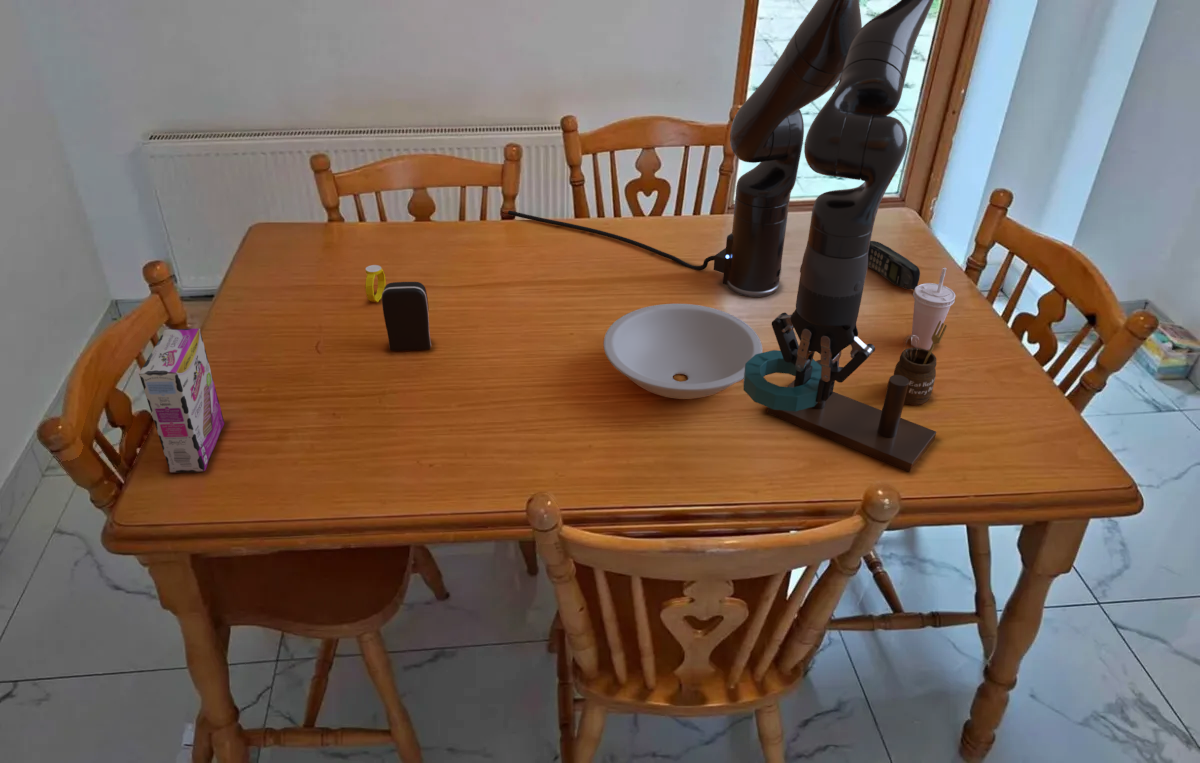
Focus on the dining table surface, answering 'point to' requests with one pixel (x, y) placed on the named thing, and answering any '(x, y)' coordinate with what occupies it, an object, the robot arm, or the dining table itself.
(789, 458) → the dining table surface
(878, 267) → the mobile phone
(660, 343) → the vessel sink basin
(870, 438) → the rack
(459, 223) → the dining table surface
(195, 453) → the candy bar box
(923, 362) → the utensil holder
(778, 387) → the teal faceted ring
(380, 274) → the watch
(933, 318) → the smoothie
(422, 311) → the battery charger
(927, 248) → the dining table surface
